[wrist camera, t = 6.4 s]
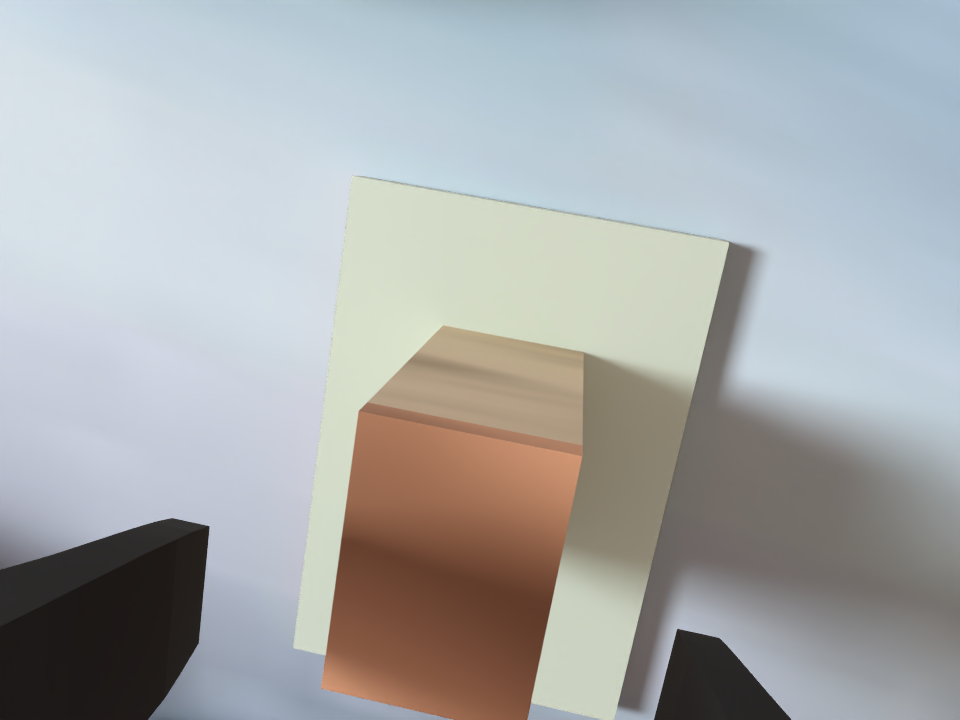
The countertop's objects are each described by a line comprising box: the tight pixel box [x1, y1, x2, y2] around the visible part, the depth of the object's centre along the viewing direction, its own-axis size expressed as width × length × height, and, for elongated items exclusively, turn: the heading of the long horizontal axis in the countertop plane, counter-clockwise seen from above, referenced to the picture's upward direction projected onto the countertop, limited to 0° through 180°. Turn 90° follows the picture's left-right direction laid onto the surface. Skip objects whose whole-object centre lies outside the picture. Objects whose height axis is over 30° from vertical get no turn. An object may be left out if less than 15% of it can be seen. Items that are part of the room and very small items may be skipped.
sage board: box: [293, 176, 730, 720], centre depth 21 cm, size 13×9×1 cm
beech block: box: [321, 325, 584, 720], centre depth 16 cm, size 5×4×8 cm
